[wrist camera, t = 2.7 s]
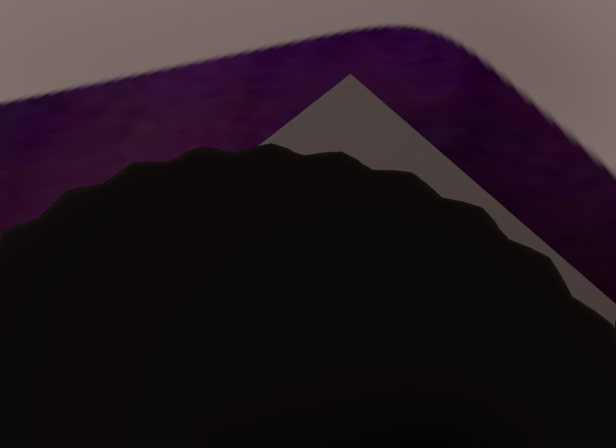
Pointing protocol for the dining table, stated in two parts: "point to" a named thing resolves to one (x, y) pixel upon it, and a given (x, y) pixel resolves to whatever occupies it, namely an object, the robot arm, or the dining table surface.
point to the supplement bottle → (290, 316)
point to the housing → (412, 166)
